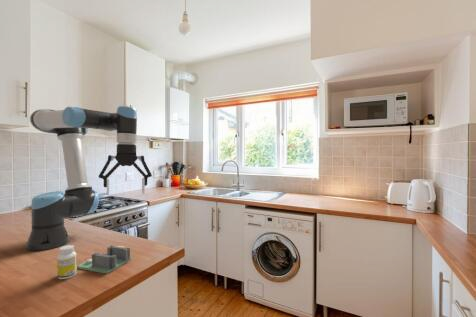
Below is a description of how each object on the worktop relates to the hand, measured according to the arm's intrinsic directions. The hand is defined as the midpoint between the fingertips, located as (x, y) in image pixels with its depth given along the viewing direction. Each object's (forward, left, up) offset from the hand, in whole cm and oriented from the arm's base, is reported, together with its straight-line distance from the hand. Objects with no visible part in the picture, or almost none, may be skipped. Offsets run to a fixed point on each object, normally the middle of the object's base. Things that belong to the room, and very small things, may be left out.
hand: (126, 194), depth 102 cm
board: (0, -11, -25) cm, 27 cm away
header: (+3, -11, -25) cm, 27 cm away
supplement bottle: (-5, -22, -25) cm, 34 cm away
